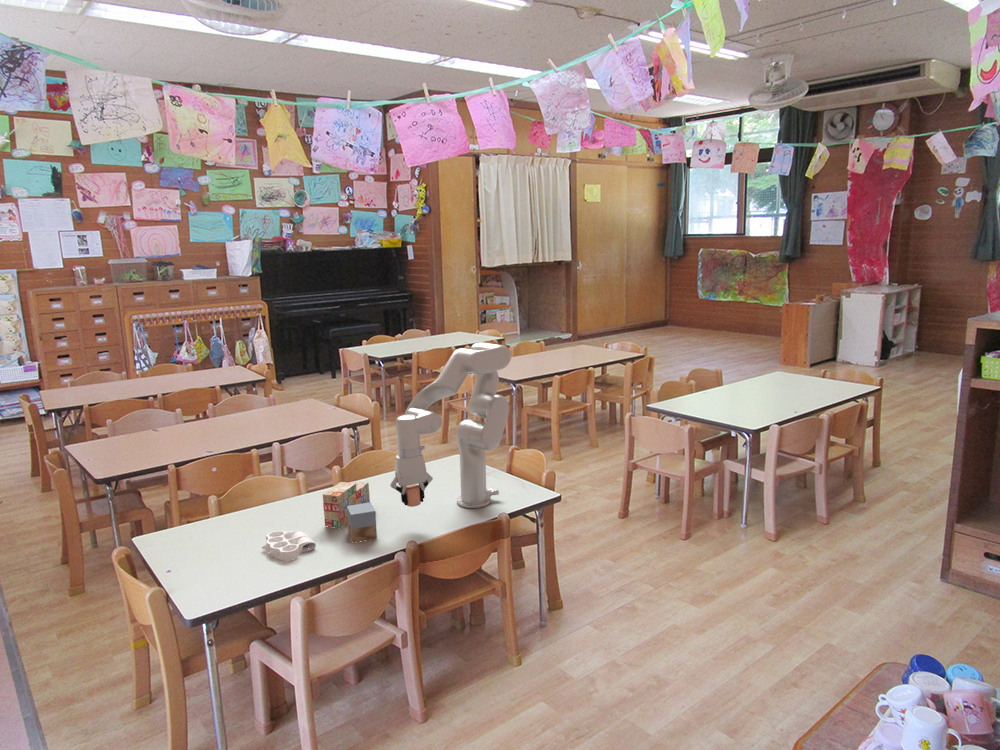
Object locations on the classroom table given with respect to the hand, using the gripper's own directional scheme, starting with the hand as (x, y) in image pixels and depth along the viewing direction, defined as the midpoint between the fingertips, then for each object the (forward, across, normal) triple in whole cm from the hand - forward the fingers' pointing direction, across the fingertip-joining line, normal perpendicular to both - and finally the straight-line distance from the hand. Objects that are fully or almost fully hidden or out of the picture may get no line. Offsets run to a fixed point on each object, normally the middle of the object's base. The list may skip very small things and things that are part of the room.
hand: (413, 501), depth 238 cm
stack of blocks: (+9, +19, -18) cm, 28 cm away
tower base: (+9, +18, 0) cm, 20 cm away
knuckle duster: (+8, +42, -1) cm, 43 cm away
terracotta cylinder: (+1, 0, 0) cm, 1 cm away
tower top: (+4, +18, 0) cm, 18 cm away
